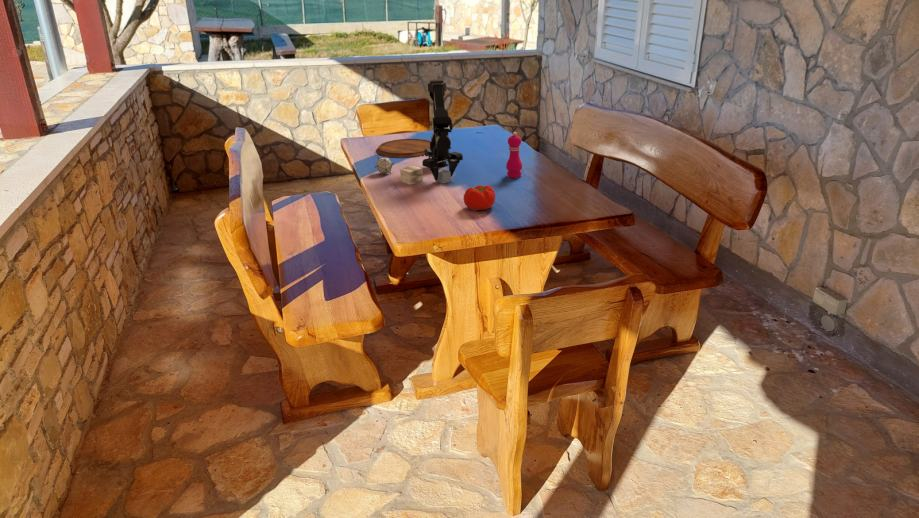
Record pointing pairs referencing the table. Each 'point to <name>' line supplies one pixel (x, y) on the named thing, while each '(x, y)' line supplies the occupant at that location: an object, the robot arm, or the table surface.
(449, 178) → the cube
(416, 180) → the slab lower
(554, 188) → the table surface
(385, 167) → the spiky ball
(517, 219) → the table surface
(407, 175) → the slab upper
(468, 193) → the tomato
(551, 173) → the table surface
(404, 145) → the cutting board
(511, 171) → the pepper mill
